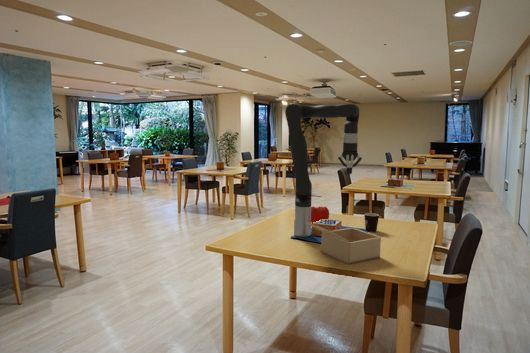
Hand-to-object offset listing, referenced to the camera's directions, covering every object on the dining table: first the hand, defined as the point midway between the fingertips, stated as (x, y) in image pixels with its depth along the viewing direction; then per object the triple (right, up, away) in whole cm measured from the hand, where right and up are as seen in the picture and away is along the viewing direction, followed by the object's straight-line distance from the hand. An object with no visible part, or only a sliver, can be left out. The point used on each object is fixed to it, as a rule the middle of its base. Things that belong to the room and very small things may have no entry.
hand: (349, 174), depth 210 cm
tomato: (-10, -32, +43) cm, 55 cm away
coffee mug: (+20, -34, +29) cm, 49 cm away
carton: (-4, -40, -18) cm, 44 cm away
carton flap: (-12, -29, -24) cm, 40 cm away
